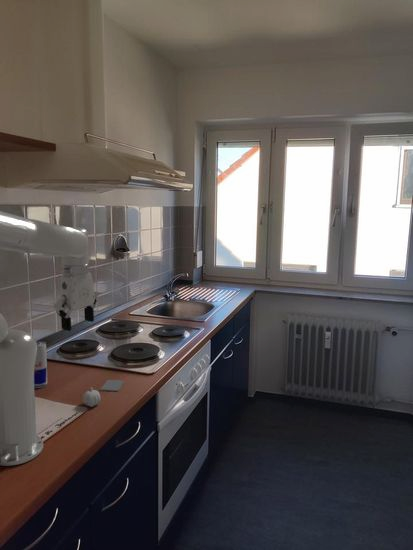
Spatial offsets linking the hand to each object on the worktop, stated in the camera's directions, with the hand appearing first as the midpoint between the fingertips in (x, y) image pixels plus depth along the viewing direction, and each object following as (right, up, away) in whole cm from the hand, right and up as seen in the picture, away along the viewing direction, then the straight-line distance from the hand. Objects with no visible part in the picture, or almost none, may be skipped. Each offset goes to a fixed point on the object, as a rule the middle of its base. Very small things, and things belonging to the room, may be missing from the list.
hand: (78, 325), depth 130 cm
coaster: (+6, -23, +18) cm, 30 cm away
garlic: (+3, -26, +4) cm, 26 cm away
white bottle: (-18, -23, +17) cm, 34 cm away
